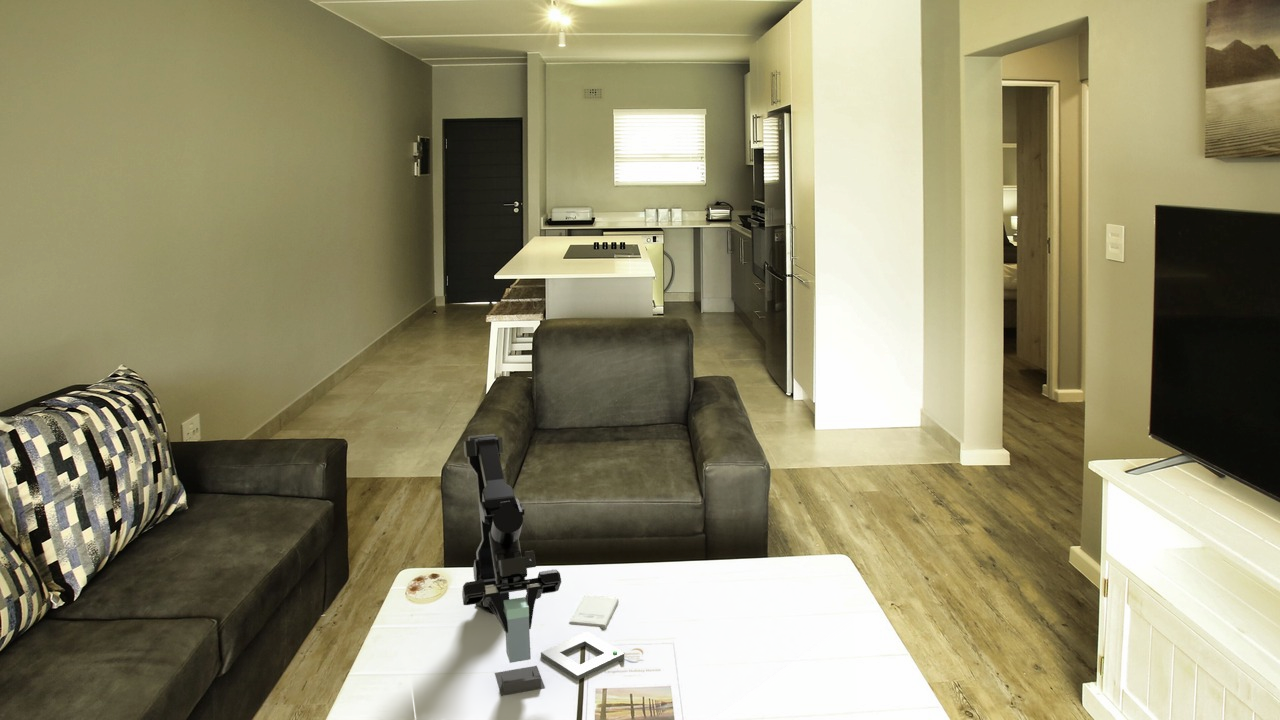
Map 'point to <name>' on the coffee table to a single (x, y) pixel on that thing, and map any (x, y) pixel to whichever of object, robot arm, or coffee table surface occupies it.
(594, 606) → the external hard drive
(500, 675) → the corner stop plate
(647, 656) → the coffee table surface
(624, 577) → the coffee table surface
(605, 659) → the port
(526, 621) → the plug
